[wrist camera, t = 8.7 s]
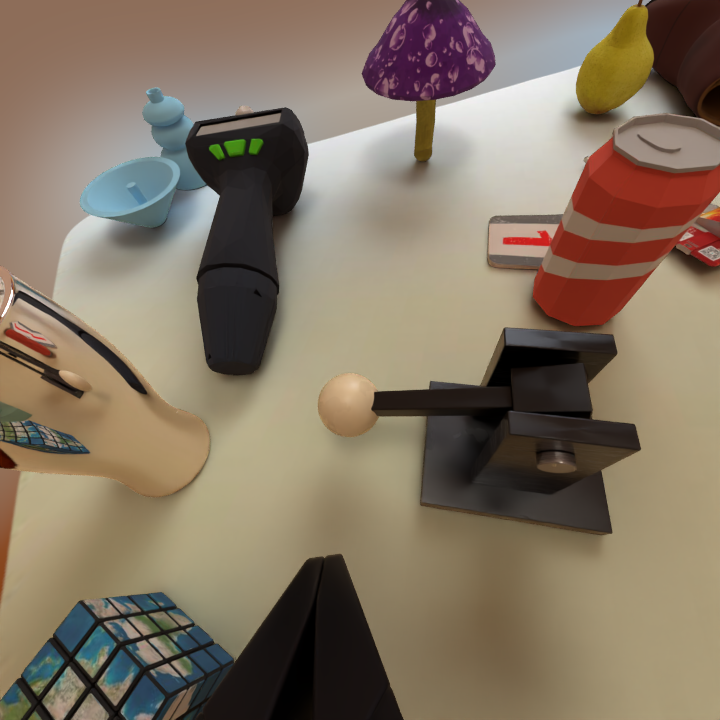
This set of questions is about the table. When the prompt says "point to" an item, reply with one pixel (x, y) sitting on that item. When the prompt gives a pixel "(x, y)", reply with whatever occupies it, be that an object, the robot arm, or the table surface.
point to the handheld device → (244, 227)
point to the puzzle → (120, 665)
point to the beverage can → (628, 215)
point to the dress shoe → (688, 51)
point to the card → (702, 242)
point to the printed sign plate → (520, 240)
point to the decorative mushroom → (428, 60)
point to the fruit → (616, 64)
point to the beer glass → (85, 403)
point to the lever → (456, 398)
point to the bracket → (528, 445)
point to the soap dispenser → (147, 171)
